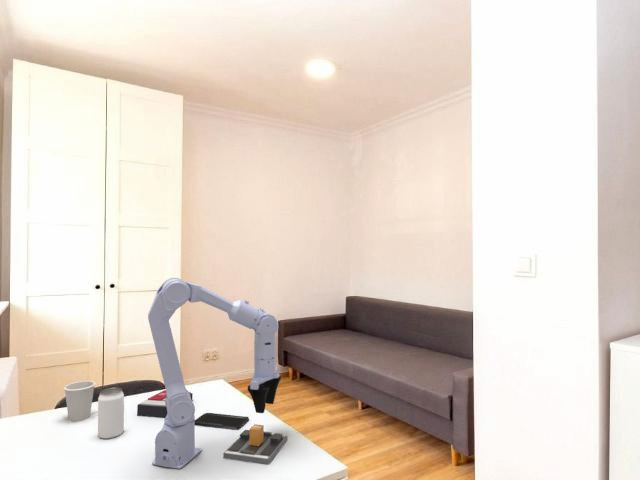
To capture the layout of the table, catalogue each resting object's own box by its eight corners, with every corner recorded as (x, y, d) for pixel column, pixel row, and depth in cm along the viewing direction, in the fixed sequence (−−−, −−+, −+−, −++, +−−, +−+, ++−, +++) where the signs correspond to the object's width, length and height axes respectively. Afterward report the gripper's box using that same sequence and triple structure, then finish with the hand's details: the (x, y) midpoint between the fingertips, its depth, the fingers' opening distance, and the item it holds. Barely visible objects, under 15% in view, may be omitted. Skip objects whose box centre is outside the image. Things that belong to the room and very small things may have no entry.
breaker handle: (258, 446, 104) (258, 429, 104) (249, 444, 105) (249, 428, 105) (263, 440, 107) (263, 424, 107) (254, 439, 108) (254, 423, 108)
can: (113, 440, 111) (113, 395, 111) (92, 438, 112) (92, 394, 113) (128, 430, 117) (129, 387, 118) (108, 428, 119) (109, 386, 119)
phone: (205, 412, 128) (250, 417, 124) (205, 416, 128) (250, 420, 124) (191, 422, 121) (238, 427, 117) (191, 426, 121) (238, 431, 117)
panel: (268, 464, 98) (268, 454, 98) (223, 458, 101) (223, 448, 101) (287, 440, 111) (287, 431, 111) (246, 435, 114) (246, 426, 114)
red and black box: (193, 390, 140) (169, 404, 126) (192, 403, 140) (168, 419, 125) (164, 388, 143) (136, 402, 128) (163, 401, 142) (136, 416, 128)
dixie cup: (84, 423, 122) (85, 389, 122) (57, 423, 122) (57, 389, 122) (100, 412, 130) (100, 380, 131) (74, 412, 131) (74, 380, 131)
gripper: (268, 365, 104) (268, 420, 103) (287, 351, 118) (287, 399, 117) (242, 363, 106) (242, 417, 105) (264, 350, 120) (265, 397, 119)
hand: (264, 407), depth 111 cm, fingers open, 6 cm apart
